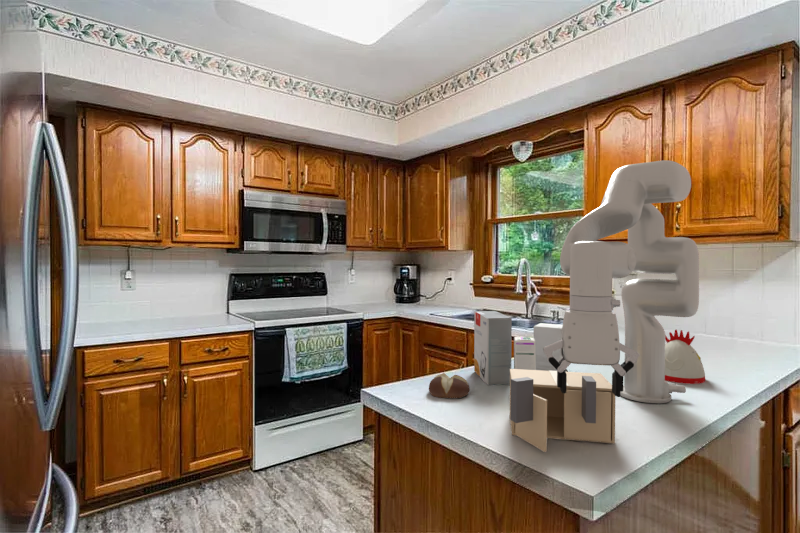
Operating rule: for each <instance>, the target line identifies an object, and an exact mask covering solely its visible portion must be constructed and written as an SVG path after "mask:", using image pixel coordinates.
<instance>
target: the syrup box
mask: <svg viewBox="0 0 800 533" xmlns="http://www.w3.org/2000/svg"><path fill="white" fill-rule="evenodd" d="M513 369H524V370H536V354H535V340H534V336H514V337H513Z"/></svg>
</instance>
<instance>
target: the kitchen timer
mask: <svg viewBox="0 0 800 533" xmlns="http://www.w3.org/2000/svg"><path fill="white" fill-rule="evenodd" d="M668 334H669V337H670V338H668V337H667V335H666V334H665V381H666V382H670V383H671V382H672V383H675V384H676V383H677V384H687V385H699V384H703V383H705V382H706V373H705V372H706V371H705V368H704V365H703V362H702V360H701V359H702V358H701V357H700V355H699V353H698V352H697V350H695V348H694V347H693V346H692V343H693V341H694V340H695V335H694V336H692V337H691V336H690V331H689V330H688V331H687V332H686V335H685V336H684V332H683V330H682V329H681V330H680V332H679V333H678V329H675V330H674V333H672V332H671V331H670V332H669V333H668ZM690 337H691V338H690Z"/></svg>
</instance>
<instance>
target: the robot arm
mask: <svg viewBox="0 0 800 533" xmlns="http://www.w3.org/2000/svg"><path fill="white" fill-rule="evenodd" d="M691 188H692V177H691V175H690V172H689V170H688V168H686V167H685V166H683V165H682V164H680V163H678V162H676V161H673V160H669V159H668V160H656V161H655V160H654V161H649V162H640V163H639V162H638V163H631V164H626V165H623V166H621V167H619V168H617V169H616V170H614V172H613V173H612V174H611V177H610V178H609V182H608V183H607V188H606V189H605V192H604V195H603V198H602V201H601V203H600V206H599V207H597V208H595V209H593V210H591V211H590V212H589V213H587V214H586V215H585V216H583V217H581V218H580V219H579V220H578V221H576V222H575V223H574V225H572V227H571V228H570V230H569V231H568V232H567V235H566V237H565V239H564V242H563V244H562V248H561V250H560V251H561V252H560V256H559V264H560V269H561V270H562V271H563V273H564V274H565V275H567V276H569V310H565V311H564V314H563V315H564V316H563V319H562V320H563V321H562V325H563V326H562V337H561V340H559V341H557V342H555V343H552V344H550V345H548V346H546V347H544V348H543V351H544V353H545V355H546V357H547V359H548V361H549V362H550V364H551V365H552V366H553V367H554V368H555V369H556V370H557V387H558V388H560V390H561V392H562V393H566V383H567V374H566V372H567V371H566V370H567V369H568V367H569V366H570V365H571V364H574V365H575V364H576V365H591V366H593V365H594V366H610V367H611V368H612V369H613V370H614V371H613V372H612V373H611V374H612V376H611V385H612V393H613V394H614V395H615V397H616V398H621V397H622V398H626V399H628V400H631V401H635V402H639V403H646V404H667V403H669V402H671V401H672V398H673V397H672V393H678V394H681V393H682V394H685V393H686V391H687V390H686V389H687V388H686V386H685V385H682V384H676V383H673V382H672V383H671V382H670V383H669V381H666V380H665V344H666V340H665V335H666V332H665V329H664V327H663V325H662V323H661V322H660V321H659V320H658V319H657V317H658V316H660V317H662V316H663V317H671V318H672V317H674V318H690V317H693V316H694V315H696V314H697V312H698V311H699V310H698V309H699V303H700V256H699V248H698V245H697V243H696V241H695V240H693V239H692V238H689V237H683V236H679V237H678V236H676V237H675V236H674V237H671V236H669V237H666V235H665V218H664V215H663V214H662V212H660V210H659V209H658V208H657V207H656V206H654V205H653V204H662V203H663V204H664V203H677V202H682V201H684V200H685V199H687V198H688V196H689V194H690V192H691ZM626 230H627V243H626V242H622V241H603V240H601V239H604V238H607V237H610V236H613V235H617V234H619V233H621V232H624V231H626ZM633 272H634V273H637V274H645V275H646V274H647V275H674V276H675V277H676V279H662V278H661V279H660V278H634V279H630V280H628V281H627V282H625V283H624V284H623V286H622V288H621V293H620V295H621V300H620V299H615V298H614V297H613V279H623V278H626V277H628V276H629V275H631V273H633ZM621 303H622V309H623V314H624V315H623V316H624V344H623V343H620V333H619V325H618V319H617V315H616V314H617V313H616V312H613V311H614V308H618V307H621ZM655 316H656V317H655ZM560 348H561V355H562V359H561V360H560V361H559V362H558V361H557V360H556V359H555V358H554V357H553V355H552V352H553V351H555V350H558V349H560ZM621 352H622V353H624V362H622V363H621V364H620V358H621ZM565 369H566V370H565Z"/></svg>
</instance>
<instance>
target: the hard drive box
mask: <svg viewBox="0 0 800 533" xmlns="http://www.w3.org/2000/svg"><path fill="white" fill-rule="evenodd" d="M473 314H474V316H473V317H474V318H473V319H474V325H473V327H474V331H473V334H474V337H473V338H474V339H473V340H474V345H473V346H474V347H473V349H474V352H473V354H474V355H473V356H474V357H473V358H474V359H473V362H474V364H473V365H474V372H475V374H476V375H477V376H478V377H480V379H481V380H482V382H484V383H485V384H486V385H487V384H488V385H487V386H494V385H493V384H509V385H510V369H512V344H513V343H512V339H513V338H512V332H513V330H512V327H513V326H512V324H513V323H512V322H513V321H512V320H513V319H512V317H510V316H508V315H506V314H503V313H501V312H498V311H496V310H479V311H478V310H475V311H474V312H473Z"/></svg>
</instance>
